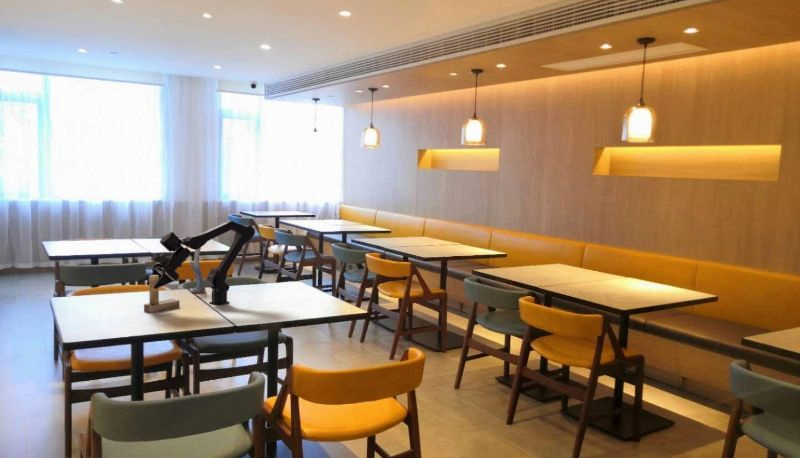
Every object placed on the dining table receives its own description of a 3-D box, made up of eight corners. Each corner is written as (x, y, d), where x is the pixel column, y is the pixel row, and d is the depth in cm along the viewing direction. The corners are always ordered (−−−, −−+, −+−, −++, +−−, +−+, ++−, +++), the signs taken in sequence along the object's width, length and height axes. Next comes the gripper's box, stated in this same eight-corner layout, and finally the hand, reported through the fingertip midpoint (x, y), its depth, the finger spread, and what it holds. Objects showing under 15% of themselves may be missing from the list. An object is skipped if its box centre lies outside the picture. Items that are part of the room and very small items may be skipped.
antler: (206, 293, 283) (206, 243, 281) (189, 294, 280) (189, 243, 278) (204, 289, 293) (205, 240, 291) (188, 289, 290) (188, 240, 288)
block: (179, 307, 252) (179, 300, 252) (151, 312, 240) (151, 305, 240) (171, 305, 255) (171, 298, 254) (144, 311, 243) (144, 304, 242)
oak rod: (160, 303, 245) (160, 275, 244) (154, 305, 241) (154, 276, 240) (154, 302, 246) (153, 274, 245) (147, 304, 243) (147, 276, 242)
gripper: (156, 244, 251) (129, 271, 245) (171, 248, 237) (143, 277, 231) (174, 260, 257) (148, 287, 251) (190, 266, 243) (163, 294, 237)
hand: (150, 286), depth 242 cm, fingers open, 9 cm apart
